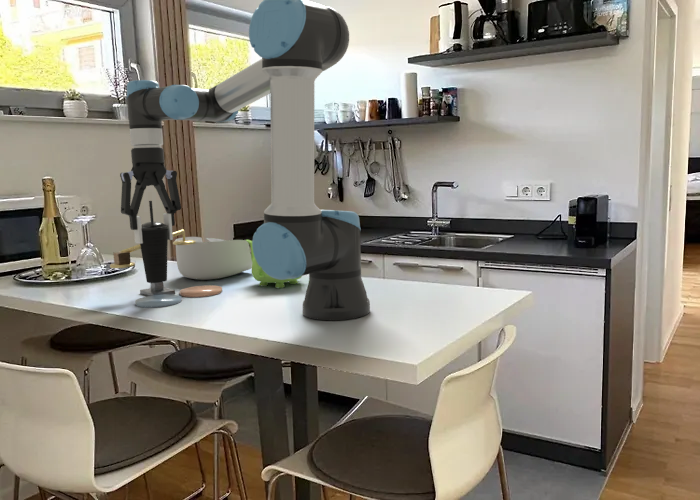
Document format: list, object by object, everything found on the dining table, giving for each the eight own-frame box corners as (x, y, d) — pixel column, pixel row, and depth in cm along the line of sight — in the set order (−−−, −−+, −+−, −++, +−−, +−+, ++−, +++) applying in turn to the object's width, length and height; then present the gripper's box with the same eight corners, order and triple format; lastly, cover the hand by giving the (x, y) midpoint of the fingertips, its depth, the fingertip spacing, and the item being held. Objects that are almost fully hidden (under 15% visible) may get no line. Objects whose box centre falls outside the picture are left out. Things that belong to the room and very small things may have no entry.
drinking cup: (163, 284, 151) (157, 201, 148) (134, 284, 152) (127, 202, 149) (178, 278, 158) (172, 199, 155) (150, 277, 160) (144, 199, 157)
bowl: (164, 279, 188) (161, 240, 186) (211, 269, 203) (209, 232, 201) (210, 285, 176) (208, 243, 175) (257, 273, 192) (255, 235, 190)
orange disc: (230, 291, 166) (230, 288, 166) (193, 299, 159) (192, 296, 158) (208, 286, 174) (208, 283, 174) (172, 293, 167) (172, 290, 166)
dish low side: (189, 301, 156) (189, 298, 156) (148, 309, 148) (147, 306, 148) (169, 295, 164) (168, 292, 164) (128, 302, 156) (128, 299, 156)
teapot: (245, 291, 167) (242, 244, 165) (248, 280, 181) (246, 237, 179) (305, 288, 168) (303, 241, 166) (304, 278, 182) (302, 235, 180)
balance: (204, 288, 171) (200, 229, 169) (120, 304, 156) (114, 238, 153) (190, 284, 177) (186, 227, 175) (107, 299, 161) (102, 236, 159)
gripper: (177, 147, 160) (183, 235, 163) (99, 147, 146) (107, 244, 150) (192, 146, 155) (198, 238, 158) (112, 146, 141) (120, 247, 144)
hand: (154, 241), depth 154 cm, fingers closed on drinking cup, 7 cm apart
